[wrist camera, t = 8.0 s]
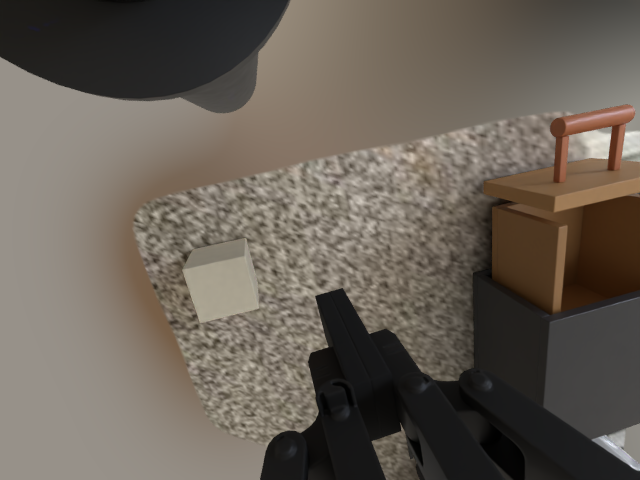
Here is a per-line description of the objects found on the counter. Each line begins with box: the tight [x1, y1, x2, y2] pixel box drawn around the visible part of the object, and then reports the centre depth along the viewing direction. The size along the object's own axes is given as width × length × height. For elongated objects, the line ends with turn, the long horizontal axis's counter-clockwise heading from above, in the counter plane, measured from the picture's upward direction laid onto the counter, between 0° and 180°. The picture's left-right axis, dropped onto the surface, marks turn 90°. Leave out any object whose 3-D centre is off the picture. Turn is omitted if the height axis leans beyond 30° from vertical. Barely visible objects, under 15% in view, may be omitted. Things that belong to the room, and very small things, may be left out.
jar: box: [592, 435, 640, 473], centre depth 39 cm, size 9×8×12 cm
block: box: [182, 238, 259, 323], centre depth 27 cm, size 5×5×5 cm
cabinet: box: [473, 269, 640, 440], centre depth 33 cm, size 15×13×10 cm
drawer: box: [484, 105, 640, 315], centre depth 29 cm, size 18×11×8 cm, turn 10°
